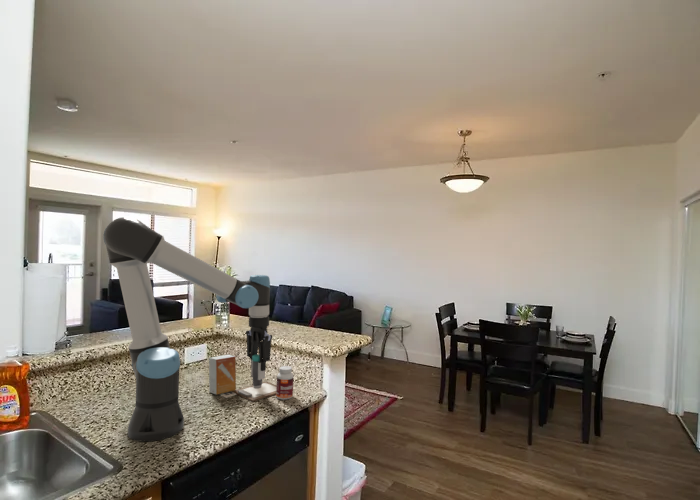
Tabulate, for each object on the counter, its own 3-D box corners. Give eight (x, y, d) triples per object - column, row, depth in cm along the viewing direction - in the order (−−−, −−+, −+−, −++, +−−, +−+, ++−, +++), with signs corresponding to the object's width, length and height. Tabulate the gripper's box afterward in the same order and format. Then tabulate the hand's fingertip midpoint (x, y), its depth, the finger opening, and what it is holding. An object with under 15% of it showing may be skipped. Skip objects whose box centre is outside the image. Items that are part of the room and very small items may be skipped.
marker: (257, 389, 146) (257, 357, 146) (250, 387, 148) (250, 356, 148) (264, 386, 149) (264, 355, 149) (257, 384, 151) (257, 353, 151)
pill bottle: (279, 401, 143) (280, 371, 143) (273, 395, 149) (274, 366, 149) (295, 398, 147) (296, 369, 147) (289, 393, 152) (289, 364, 152)
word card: (226, 397, 145) (226, 396, 145) (218, 394, 148) (218, 393, 148) (242, 392, 150) (242, 391, 150) (234, 389, 154) (234, 388, 154)
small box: (216, 395, 145) (215, 359, 146) (209, 392, 150) (208, 357, 151) (236, 390, 151) (235, 355, 152) (228, 387, 156) (228, 354, 157)
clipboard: (252, 401, 142) (252, 398, 142) (232, 392, 150) (232, 388, 150) (286, 390, 154) (286, 387, 154) (265, 382, 163) (266, 379, 163)
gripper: (281, 317, 146) (279, 380, 146) (254, 312, 157) (252, 370, 157) (264, 320, 140) (263, 385, 141) (237, 314, 151) (236, 375, 151)
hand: (257, 377), depth 149 cm, fingers closed on marker, 3 cm apart
